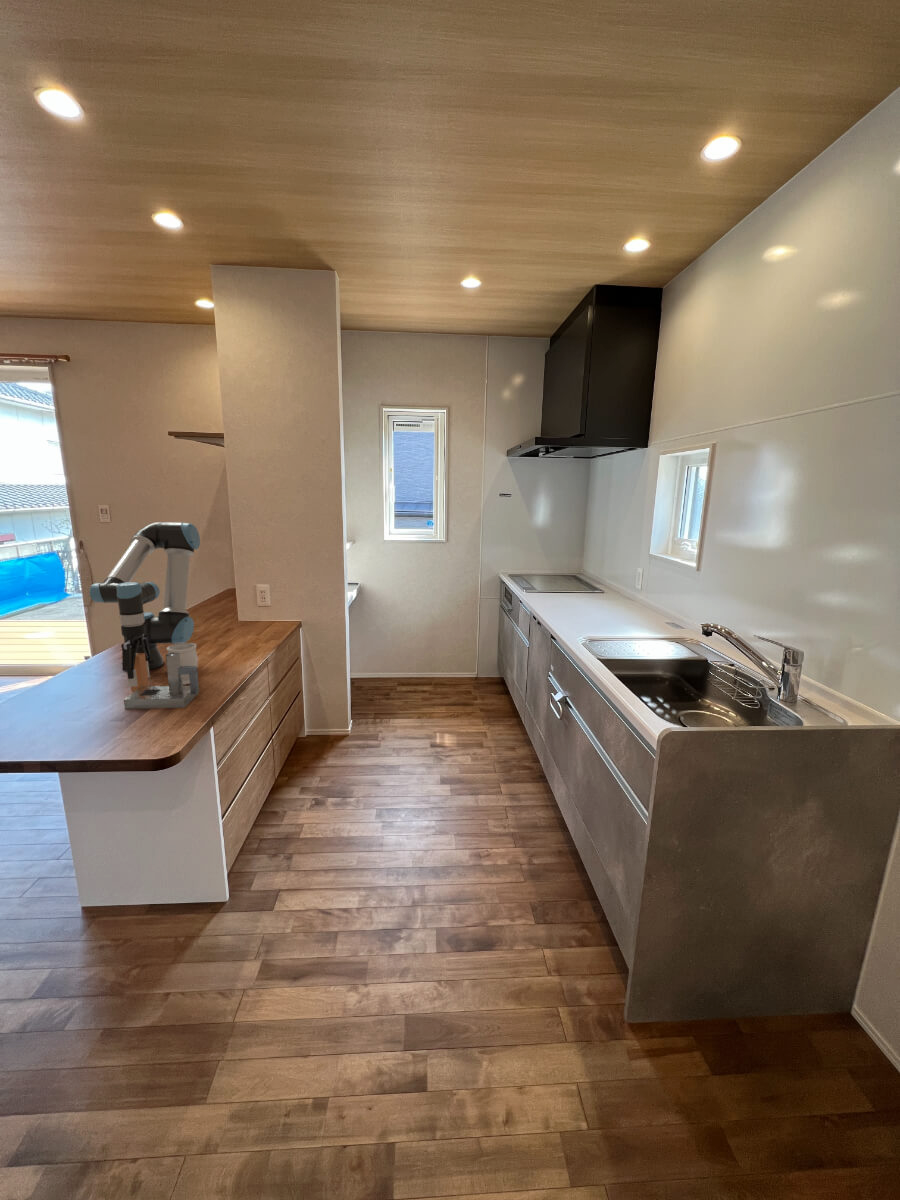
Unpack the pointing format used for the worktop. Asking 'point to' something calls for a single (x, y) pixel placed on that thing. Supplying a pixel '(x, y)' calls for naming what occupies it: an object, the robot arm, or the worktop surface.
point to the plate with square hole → (167, 688)
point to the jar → (185, 656)
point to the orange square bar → (140, 671)
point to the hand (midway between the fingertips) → (139, 681)
